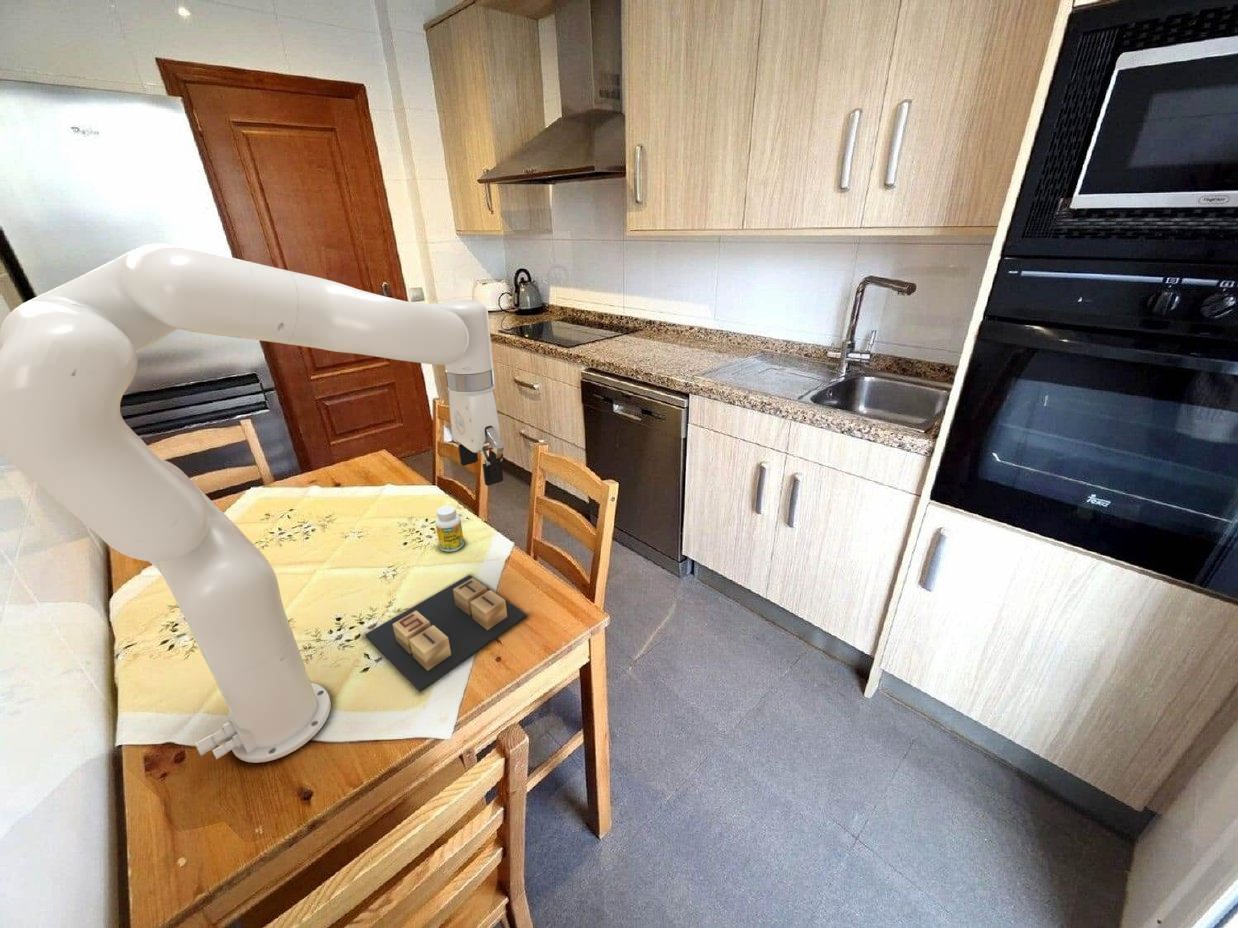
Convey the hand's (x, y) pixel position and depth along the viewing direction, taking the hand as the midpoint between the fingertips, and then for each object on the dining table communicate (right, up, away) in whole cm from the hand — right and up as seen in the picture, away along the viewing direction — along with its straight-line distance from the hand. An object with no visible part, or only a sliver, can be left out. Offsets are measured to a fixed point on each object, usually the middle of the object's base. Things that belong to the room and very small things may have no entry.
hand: (481, 472), depth 89 cm
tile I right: (0, -27, +4) cm, 27 cm away
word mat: (-7, -28, +3) cm, 29 cm away
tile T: (-4, -26, +7) cm, 27 cm away
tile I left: (-7, -31, -4) cm, 32 cm away
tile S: (-11, -29, -1) cm, 32 cm away
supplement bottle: (-14, -17, +26) cm, 34 cm away
